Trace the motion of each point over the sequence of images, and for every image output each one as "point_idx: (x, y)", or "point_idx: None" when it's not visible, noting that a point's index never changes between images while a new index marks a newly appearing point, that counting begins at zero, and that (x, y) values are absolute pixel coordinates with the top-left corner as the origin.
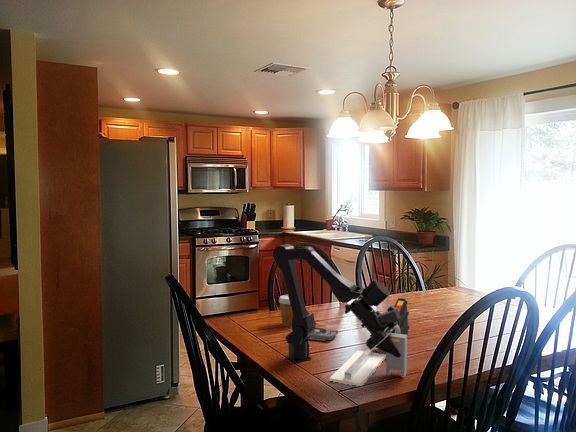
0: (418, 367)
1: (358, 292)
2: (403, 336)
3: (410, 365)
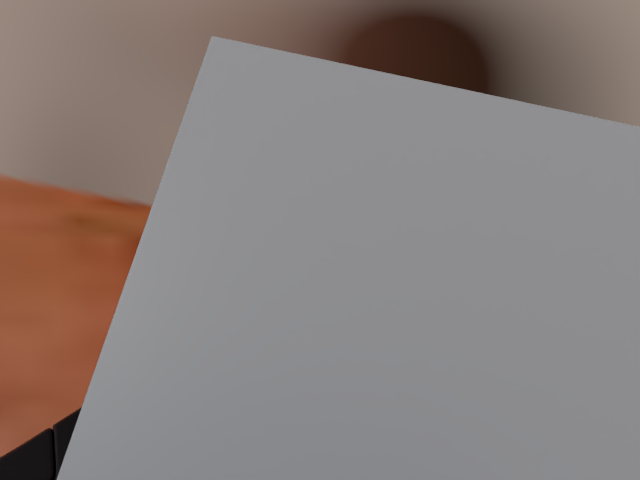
0: (59, 208)
1: None
2: (510, 195)
3: (3, 284)
